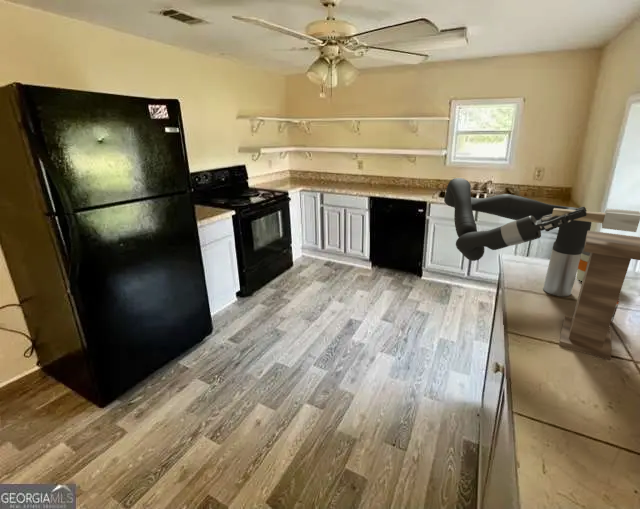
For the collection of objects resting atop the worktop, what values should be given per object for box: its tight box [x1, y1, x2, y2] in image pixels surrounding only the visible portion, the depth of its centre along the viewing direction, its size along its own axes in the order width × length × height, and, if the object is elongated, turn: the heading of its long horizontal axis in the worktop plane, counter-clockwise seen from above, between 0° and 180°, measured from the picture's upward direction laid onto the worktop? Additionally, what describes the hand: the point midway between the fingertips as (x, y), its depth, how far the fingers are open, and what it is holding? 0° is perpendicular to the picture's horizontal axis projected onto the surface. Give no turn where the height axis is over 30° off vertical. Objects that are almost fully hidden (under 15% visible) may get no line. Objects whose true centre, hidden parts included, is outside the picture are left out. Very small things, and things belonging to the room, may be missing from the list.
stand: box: [558, 230, 640, 361], centre depth 100 cm, size 18×12×32 cm, turn 142°
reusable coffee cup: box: [576, 248, 590, 282], centre depth 141 cm, size 13×13×15 cm
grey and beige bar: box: [552, 207, 640, 233], centre depth 95 cm, size 6×19×4 cm, turn 52°
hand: (585, 210), depth 96 cm, fingers closed on grey and beige bar, 2 cm apart
